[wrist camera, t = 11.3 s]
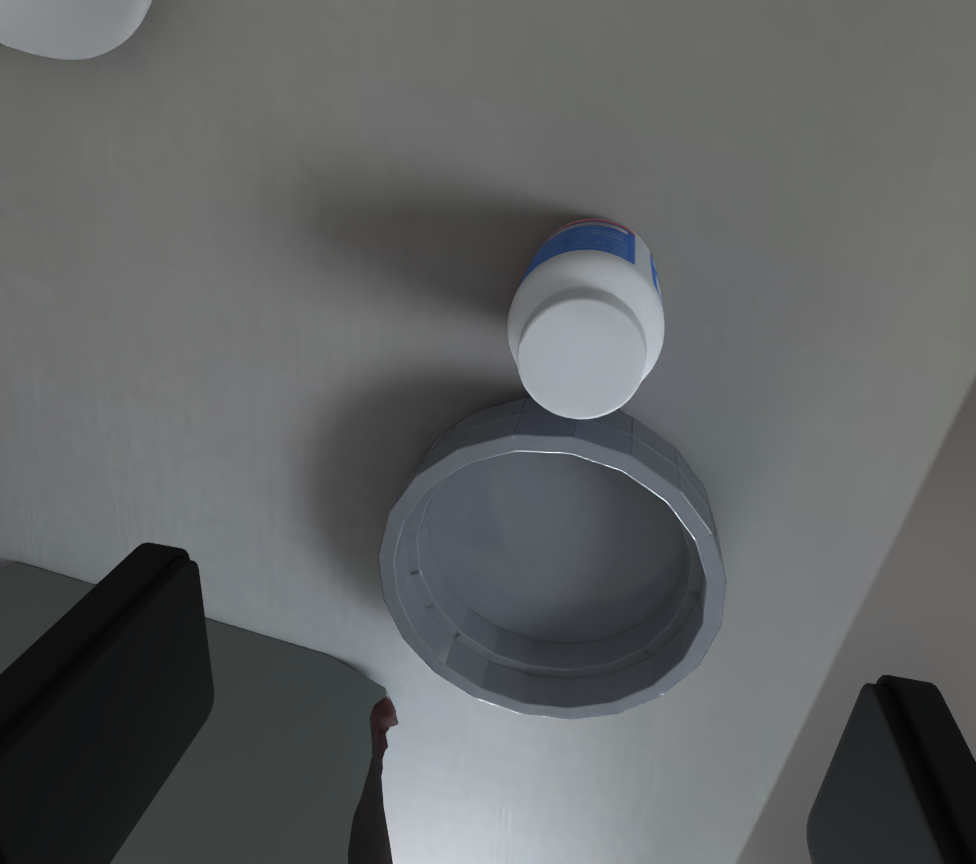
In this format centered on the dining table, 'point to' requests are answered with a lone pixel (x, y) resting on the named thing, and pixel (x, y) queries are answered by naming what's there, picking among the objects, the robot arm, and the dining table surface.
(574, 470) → the pan
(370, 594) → the dining table surface
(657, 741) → the dining table surface
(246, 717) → the basket
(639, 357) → the pill bottle
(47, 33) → the spoon
